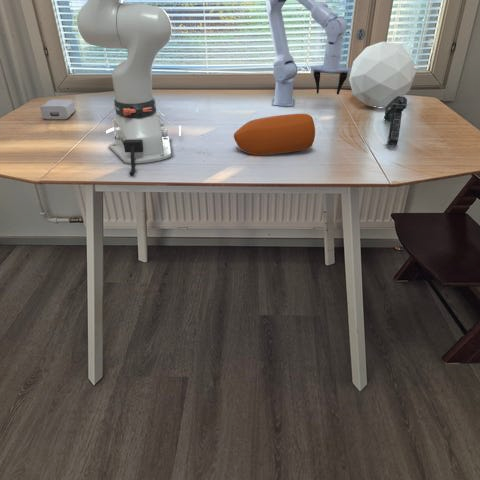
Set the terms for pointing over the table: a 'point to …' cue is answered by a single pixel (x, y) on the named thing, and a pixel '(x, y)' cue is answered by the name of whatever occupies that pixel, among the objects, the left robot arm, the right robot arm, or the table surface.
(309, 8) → the right robot arm
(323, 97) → the table surface
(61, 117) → the charger
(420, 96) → the table surface
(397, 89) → the decorative sphere
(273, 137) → the orange tapered cylinder
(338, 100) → the table surface
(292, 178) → the table surface
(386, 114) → the futuristic handgun
